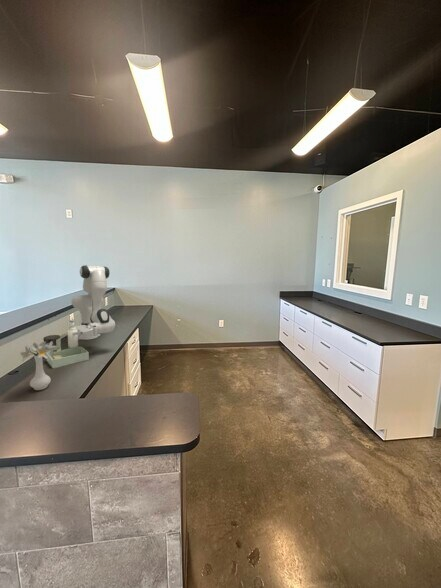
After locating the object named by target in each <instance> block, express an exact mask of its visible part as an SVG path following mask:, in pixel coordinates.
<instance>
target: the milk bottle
mask: <svg viewBox="0 0 441 588" xmlns="http://www.w3.org/2000/svg"><path fill="white" fill-rule="evenodd" d="M69 325H70V327H69V328H68V329H67V330H66V331H67V346H68V347H67V348H68V349H71V348H76V347H79V339H78V335H73V332H78V329H76V327H75V319H70V320H69Z"/></svg>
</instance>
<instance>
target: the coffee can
mask: <svg viewBox="0 0 441 588" xmlns="http://www.w3.org/2000/svg"><path fill="white" fill-rule="evenodd" d="M51 341H52V342H53V344H52V346H57V348H56V349H53V352H57V351H61V350H62V347H61V345H62V343H61V335H58V334H52V335H51V334H50V335H46V336H44V337H43V342H44V345H49V343H50V342H51Z"/></svg>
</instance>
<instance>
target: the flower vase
mask: <svg viewBox="0 0 441 588" xmlns="http://www.w3.org/2000/svg"><path fill="white" fill-rule="evenodd" d="M52 344H53V342H52V341H51V342H50V343H49V345H44V341H42V342H40V343H39V344H38V343H36V342H33V343H32V345H30V347H29V345H27V344H26V345H25V346H24V347H25V350H23V351H21V352H20V355H21V357H22V360H21V362H24V360H26V359H27V358H29V357H30V356H33V357H34V360H35V361H34V362H35V375H33V377H32V378H31V379H30V382H29V385H30V387H31V388H33V389H34V391H41V390H44V389H46V388H48V386H49V384H50V383H51V381H52V380H51V377H50V375H48V374H46V372H45V371H44V364H43V363H44V362H43V358H44V359H46V360H47V358H48V356H47V353H51V354H52V355H53V354H54V352H53V349H56V348H57V346H52Z"/></svg>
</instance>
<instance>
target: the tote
mask: <svg viewBox="0 0 441 588" xmlns="http://www.w3.org/2000/svg"><path fill="white" fill-rule="evenodd" d="M57 355H61V357H62V358H59V359H54V360H53V356H57ZM47 356H48V358H47V359H46V362H47V363H48V364H49V366H50V367H51V368H52V369H57V368H60V367H64V366H69V365H72V364H75V363H80V362H85V361H89V360H90V355H89V351H88V350H86V349H85V348H84V347H83V346H77V347H74V348H68V349H67V348H66V349H61V351H57V352H54V354H53V355H52V354H51V353H47Z"/></svg>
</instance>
